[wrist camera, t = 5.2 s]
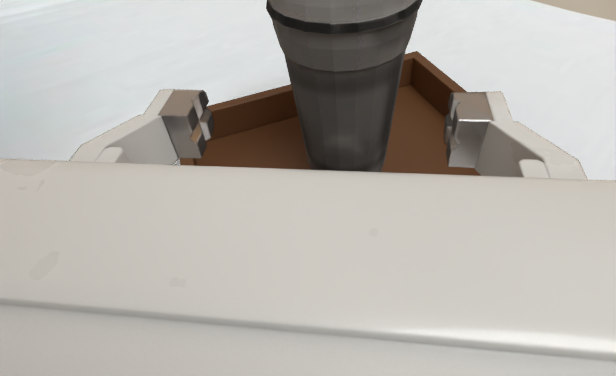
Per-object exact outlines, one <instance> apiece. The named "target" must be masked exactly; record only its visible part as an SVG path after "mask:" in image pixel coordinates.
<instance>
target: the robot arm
mask: <svg viewBox="0 0 616 376" xmlns="http://www.w3.org/2000/svg"><path fill="white" fill-rule="evenodd" d="M208 102H209V100H208V97H207V94H206V92H205V91H203V90H180V89H177V90H175V89H163V90H160V91H159V92H158V94H157V95H156V97H155V98H154V100H153V101H152V103H151V104H150V105H149V107H148V108H147V110H146V111H145V113H144V114H143V115H138V116H136V117H134V118H132V119H130V120H128V121H126V122H125V123H123V124H121V125H119V126H117V127H115V128H113V129H111V130H109V131H107V132H105V133H103V134H102V135H100V136H98V137H96V138H94V139H92V140H90V141H88V142H86V143H84V144H82V145H81V146H80V147H79V148H78V150H77V151H76V152H75V153H74V155H73V156H72V157H71V158H70V160H69V161H52V160H24V159H0V376H616V181H613V180H588V179H587V177H586V175H585V173H584V171H583V169H582V166H581V164H580V162H579V160H577V159H576V158H574V157H573V156H571V155H570V154H568V153H566V152H565V151H563V150H562V149H560V148H559V147H557V146H555V145H554V144H552V143H551V142H549V141H548V140H546V139H544V138H543V137H541V136H540V135H538V134H537V133H535V132H533V131H532V130H530V129H529V128H527V127H526V126H524V125H522V124H521V123H519V122H513V120H512V117H511V114H510V111H509V109H508V106H507V103H506V100H505V98H504V95H503V93H502V92H501V91H499V92H455V93H450V96H449V101H448V108H449V113H448V114H447V115H446V116H445V122H444V131H443V136H444V144H445V145H446V146H447V149H446V158H447V164H448V167H463V168H475V170H476V171H477V172H478V173H479V174H480V175H481V176H474V175H446V174H417V173H389V172H361V171H332V170H304V169H276V168H248V167H220V166H192V165H172V164H174V163H175V162H176V161H177V160H178V158H202V156H203V154H204V152H205V150H206V148H207V144H206V141H207V140H208V139H210V138H211V137H212V134H213V131H214V118H213V114H212V112H211V111H210V110H209V109H208V108H207V107H206V106H207V104H208Z"/></svg>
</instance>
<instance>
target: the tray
mask: <svg viewBox="0 0 616 376" xmlns="http://www.w3.org/2000/svg"><path fill="white" fill-rule="evenodd" d="M455 92H466V91H465V90H464V89H463V88H462V87H460V86H459V85H458V84H457V83H455V82H454V81H453V80H452V79H450V78H449V77H448V76H447V75H446V74H444V73H443V72H442V71H441V70H439V69H438V68H437V67H436V66H435V65H433V64H432V63H431V62H430V61H428V60H427V59H426V58H425V57H424V56H422V55H421V54H420V53H419V52H417V51H416V52H412V53H408V54H405V55H404V61H403V66H402V72H401V77H400V82H399V88H398V93H397V99H396V104H395V109H394V115H393V120H392V126H391V131H390V137H389V142H388V147H387V153H386V158H385V162H384V165H383V168H382V171H381V172H389V173H417V174H446V175H474V176H481V175H480V174H479V173H478V172H477V171H476V170H475V168H463V167H448V164H447V158H446V149H447V146H446V145H445V144H444V136H443V131H444V122H445V116H446V115H447V114H448V113H449V108H448V101H449V96H450V93H455ZM207 108H208V109H209V110H210V111H211V112H212V114H213V118H214V131H213V134H212V137H211V138H210V139H208V140H207V141H206V144H207V148H206V150H205V152H204V154H203V156H202V158H180V163H181V165H192V166H220V167H248V168H276V169H304V170H311V167H310V165H309V163H308V159H307V154H306V150H305V145H304V140H303V136H302V131H301V127H300V122H299V118H298V113H297V109H296V104H295V100H294V95H293V90H292V86H291V84H290V85H287V86H283V87H279V88H275V89H271V90H268V91H264V92H260V93H256V94H252V95H249V96H245V97H241V98H237V99H233V100H230V101H226V102H222V103H218V104H214V105H211V106H207Z"/></svg>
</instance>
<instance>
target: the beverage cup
mask: <svg viewBox="0 0 616 376" xmlns="http://www.w3.org/2000/svg"><path fill="white" fill-rule="evenodd" d="M421 3H422V0H267V6H266V9H267V11H268V13H269V15H270V17H271V18H272V21H273V26H274V29H275V32H276V35H277V38H278V41H279V44H280V46H281V48H282V50H283V52H284V54H285V59H286V63H287V68H288V72H289V77H290V81H291V86H292V90H293V95H294V100H295V104H296V109H297V113H298V118H299V122H300V127H301V131H302V136H303V140H304V145H305V150H306V154H307V159H308V163H309V165H310V167H311V170H332V171H361V172H381V171H382V168H383V165H384V162H385V158H386V153H387V147H388V142H389V137H390V131H391V126H392V120H393V115H394V109H395V104H396V99H397V93H398V88H399V82H400V77H401V72H402V66H403V61H404V55H405V50H406V47H407V45H408V42H409V40H410V37H411V34H412V31H413V27H414V24H415V21H416V17H417V11H418V9H419V7H420V5H421Z"/></svg>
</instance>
